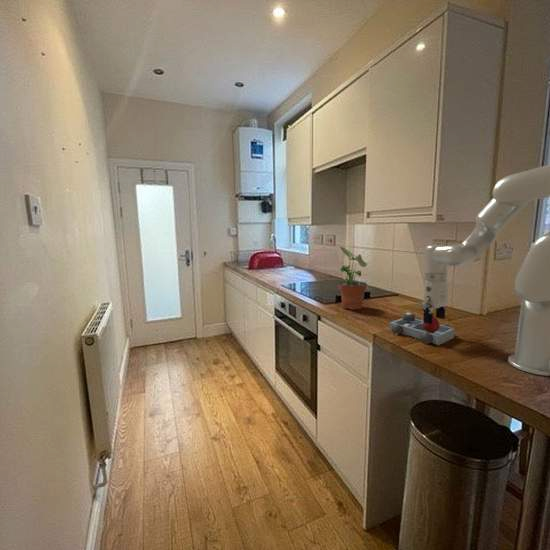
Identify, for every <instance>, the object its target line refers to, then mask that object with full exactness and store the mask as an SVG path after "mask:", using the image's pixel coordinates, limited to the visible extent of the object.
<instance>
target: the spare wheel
mask: <svg viewBox="0 0 550 550" xmlns="http://www.w3.org/2000/svg"><path fill="white" fill-rule="evenodd" d="M415 317H416V314H415V313H411V312H403V313H402V319H403V320H407V321H414V320H415Z"/></svg>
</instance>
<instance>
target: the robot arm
mask: <svg viewBox="0 0 550 550" xmlns="http://www.w3.org/2000/svg"><path fill="white" fill-rule="evenodd" d="M492 197H493V198H491V199H490V201H489V202H488V203H487V204H486V205H485V206H484V207H483V208H482V210H481V211H479V213H477V215H476V217H475V226H474V229H473V230H472V232H471V233H470V234H469V235H468V237H467V238H466V239H465V240H464V241H463V242H461V243H458V244H450V245H446V244H428V245H427V246H425V252H424V253H425V255H424V256H425V257H424V289H423V290H424V291H423V301H422V303H421V307H422V309H421V310H422V313H423V322H424V323H428V324H432V321H433V317H434V315H433V310H434V309H436V310H435V318H436V319H442V320H443V319H445V318H446V308H447V304H448V299H449V297H448V295H449V294H448V292H449V291H448V282H447V281H448V266H452V267H458V266H462V265H467V264H471V263H472V262H474V261H475V260H477V259H478V258H479V257H480V256H481V255H482V254H483V253H484V252H485V251H486V250H488V249H489V247H490V246H491V244H493V242H494V241H495V239H496V238H497V237H498V236H499V234H500V232H502V230H503V229H504V228H505V227H506V226H507V225H508V224H509V223H510V222H511V220H513V219H514V218H515V217H516V216H517V215H518V214H519V213H520V212H521V211H522V210H523V209H524V208H525V207H526V206H527V205H528V204H529V203H530V202H531V201H535V200H541V199H546V198H550V164H546V165H543V166H539V167H536V168H531V169H529V170H528V169H527V170H525V171H521V172H517V173H512V174H510V175H507V176H506V175H505V176H504V177H503V178H501V179H499V180H498V181H497V182H496V183H495V185H494V186H493V189H492ZM524 258H525V259H524V260H523V263H522V265H521V266H520V269H519V271H518V273H517V275H516V278H515V281H514V289H515V292H516V294H517V295H518V297H519V298H521V299H522V301H521V304H520V312H519V319H518V326H517V332H516V333H517V335H516V343H515V350H514V354H512V355H509V356H508V359H507V362H508V363H509V365H511V366H512V367H514V368H516V369H518V370H521V371H524V372H527V373H529V374H534V375H539V376H545V377H549V376H550V230H549V231H548V232H546V233H544V234H542V235H540V236H538V238H536V240H535V241H534V242H533V243H532V245H531V247H530V248H529V250H528V252H527V255H526V256H525V257H524Z"/></svg>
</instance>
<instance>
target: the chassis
mask: <svg viewBox="0 0 550 550" xmlns="http://www.w3.org/2000/svg"><path fill="white" fill-rule="evenodd" d="M402 318H403V317H402ZM402 318H399V319H396V320H393V321H391V322H389V330H390V329H391V330H392V331H391V333H392V332H394V333H397V334H399V335H402V334H401V333H403V334H406V335H409V336H412V337H415V338H414V339H416V338H418V339H417V340H419V339H420V340H419V341H420V342H421V343H422V344H424V343H425V344H424V345H428V344H432V343H433V345H435V344H436V346H441V345H443V344H445V343H446V342H448V341H451V340H452V339H454V338H455V333H456V328H454V327H451V325H449V324H446V323H443V324H440V326H439V329H438V330H437V331H436V332H434V333H433V334H432V333H429V332H427V331H426V330H425V329H424V328H423V320H422V318H420V317H419V316H415V320H414V321H407V320H403V319H402ZM406 335H405V336H406ZM409 336H408V337H409ZM412 337H411V338H412ZM440 344H441V345H440Z"/></svg>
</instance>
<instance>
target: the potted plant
mask: <svg viewBox="0 0 550 550" xmlns="http://www.w3.org/2000/svg"><path fill="white" fill-rule="evenodd" d="M340 250H341V251H342V252H343V254H344V255H346V257H347V258H348V260H349V265H342V266H341V268H340V269H339V270H340V271H341V272H342V273H346V274H344V277H345V280H343V281H341V282H339V283H338V289H339V291H340V294H341V295H340V296H341V297H340V298H341V305H342V308H343V309H345V310H349V309H350V310H361V309H362V307H363V302H364V295H365V291H366V290H367V286H368V285H367V282H366V281H365V282H364V281H358V280H355V278H356V276H357V275H358V276H359V277H362V271H361V270H356V268H354V269H353V266H354V264H352V265H351V261H352V260H353V261H352V263H354V262H355V266H354V267H356V266H357V263H358V265H359V266H360V267H361V268H366V267H367V266H368V265H369V262H365V261H364V260H363V258H362V255H361V254H360V253H359V254H358V255H355V254H354V253H352V252H351V251H349V250H348V249H346V248H344V247H343V246H340ZM355 270H356V271H355Z"/></svg>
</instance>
